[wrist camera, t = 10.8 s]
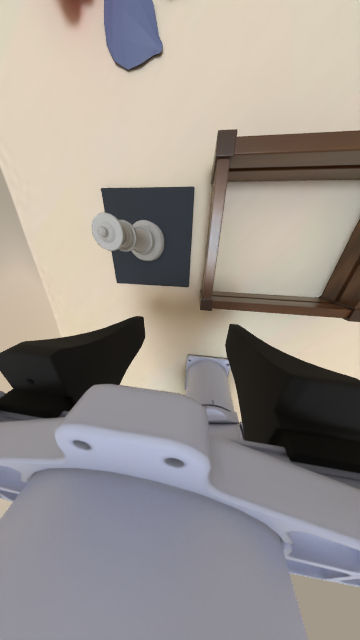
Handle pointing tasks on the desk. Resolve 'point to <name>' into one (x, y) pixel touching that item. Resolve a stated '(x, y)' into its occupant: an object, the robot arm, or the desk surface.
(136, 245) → the chess piece
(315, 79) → the desk surface
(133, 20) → the toy pieces
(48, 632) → the robot arm
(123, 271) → the mat
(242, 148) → the crate
